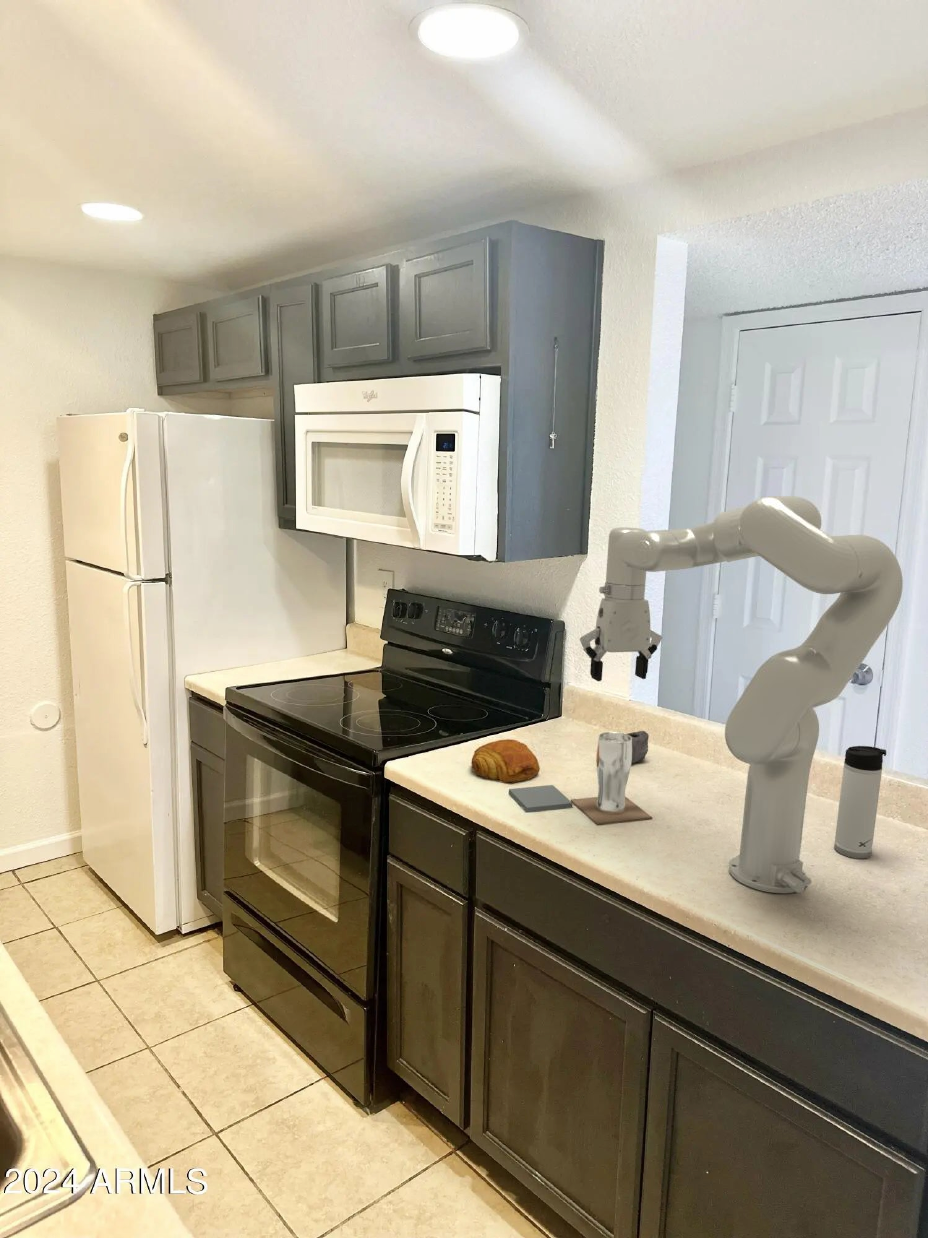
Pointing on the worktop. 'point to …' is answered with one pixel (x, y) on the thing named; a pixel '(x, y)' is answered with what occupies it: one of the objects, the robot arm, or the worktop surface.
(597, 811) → the dot tile
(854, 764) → the travel mug
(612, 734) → the beer glass
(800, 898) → the worktop surface
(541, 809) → the rubber mat
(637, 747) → the perforated stone tool
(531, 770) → the croissant
